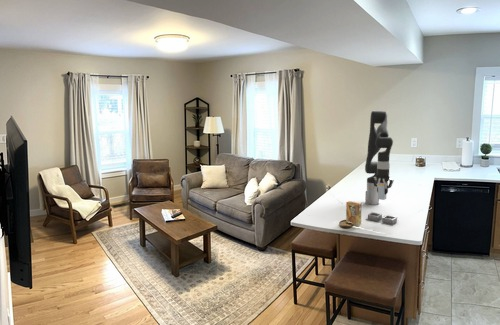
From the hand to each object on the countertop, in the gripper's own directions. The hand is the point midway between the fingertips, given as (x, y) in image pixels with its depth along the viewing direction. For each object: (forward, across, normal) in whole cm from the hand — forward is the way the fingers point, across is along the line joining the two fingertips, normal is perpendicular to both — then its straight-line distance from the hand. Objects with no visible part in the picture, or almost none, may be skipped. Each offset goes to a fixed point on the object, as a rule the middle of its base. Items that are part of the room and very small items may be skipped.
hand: (382, 193), depth 226 cm
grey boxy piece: (+20, 0, +1) cm, 20 cm away
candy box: (+20, -12, -16) cm, 28 cm away
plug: (+4, 0, 0) cm, 4 cm away
